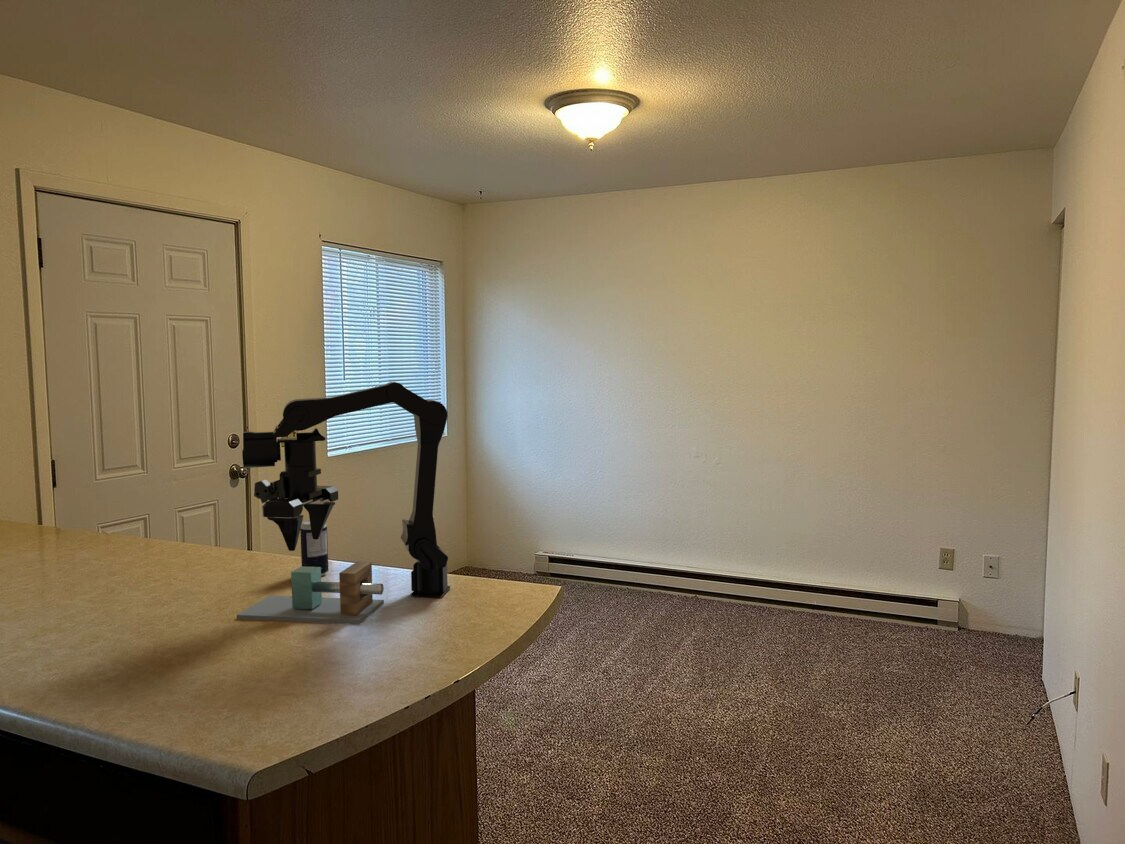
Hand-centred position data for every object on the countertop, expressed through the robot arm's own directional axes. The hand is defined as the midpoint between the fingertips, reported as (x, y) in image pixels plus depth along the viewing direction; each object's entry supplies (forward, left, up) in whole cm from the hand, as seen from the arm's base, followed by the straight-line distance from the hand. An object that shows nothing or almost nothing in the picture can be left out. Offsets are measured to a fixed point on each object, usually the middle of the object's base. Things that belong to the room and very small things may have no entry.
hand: (304, 544), depth 151 cm
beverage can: (+9, -21, -13) cm, 26 cm away
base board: (-2, +3, -12) cm, 13 cm away
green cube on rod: (-8, +3, -11) cm, 14 cm away
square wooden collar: (-11, +3, -12) cm, 17 cm away
